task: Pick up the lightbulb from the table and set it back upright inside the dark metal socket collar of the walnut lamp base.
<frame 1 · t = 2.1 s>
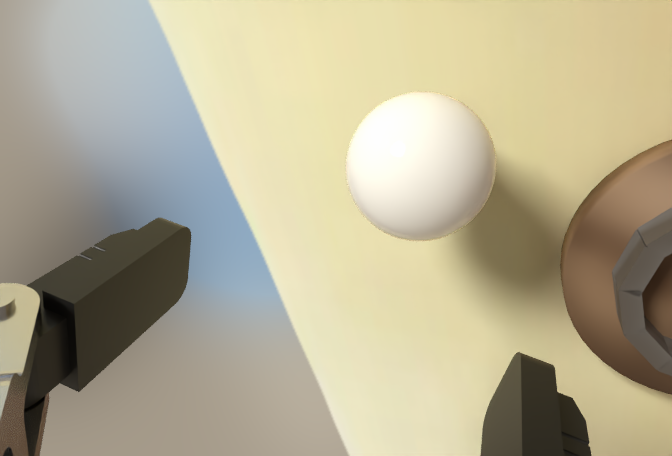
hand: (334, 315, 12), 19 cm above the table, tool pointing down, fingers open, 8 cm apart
lightbulb: (442, 124, 28), on the table
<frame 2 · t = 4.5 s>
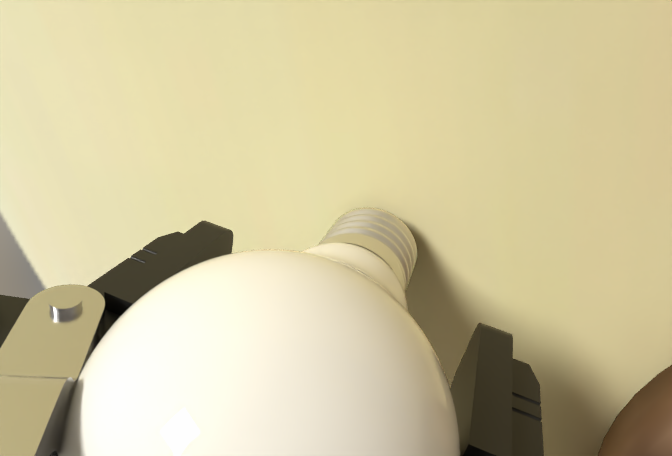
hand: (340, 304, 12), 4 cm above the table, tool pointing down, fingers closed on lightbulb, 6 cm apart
lightbulb: (378, 237, 15), on the table, touching gripper
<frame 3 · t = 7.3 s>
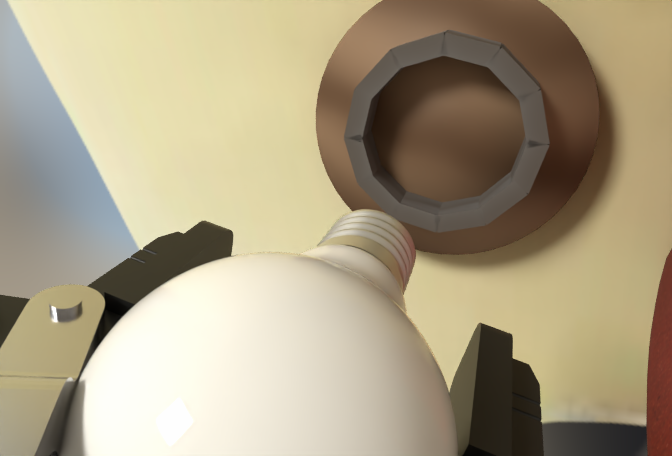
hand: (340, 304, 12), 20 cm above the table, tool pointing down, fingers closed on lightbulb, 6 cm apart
lightbulb: (377, 238, 15), point 16 cm above the table, touching gripper
lamp base: (449, 123, 29), on the table
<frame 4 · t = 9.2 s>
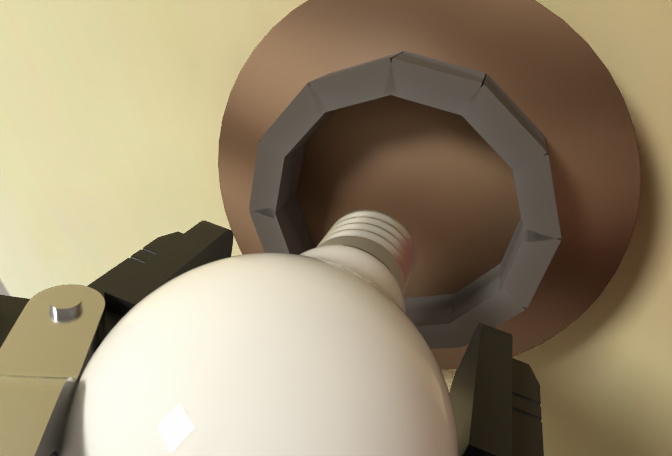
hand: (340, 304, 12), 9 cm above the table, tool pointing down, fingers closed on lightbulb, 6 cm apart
lightbulb: (377, 239, 15), point 5 cm above the table, touching gripper
lamp base: (412, 183, 20), on the table
when the fingers open (7 cm above the table, at t = 10.6 s): lightbulb drops 1 cm, resting on lamp base.
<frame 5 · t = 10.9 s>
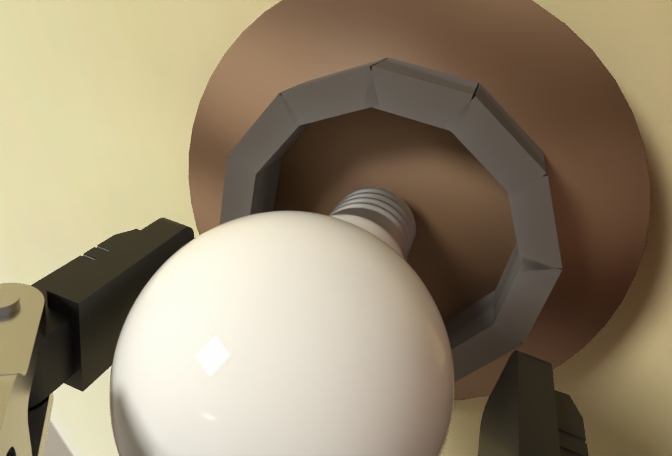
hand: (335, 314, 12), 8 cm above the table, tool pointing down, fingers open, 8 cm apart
lightbulb: (380, 215, 17), point 2 cm above the table, touching lamp base
lamp base: (399, 200, 18), on the table
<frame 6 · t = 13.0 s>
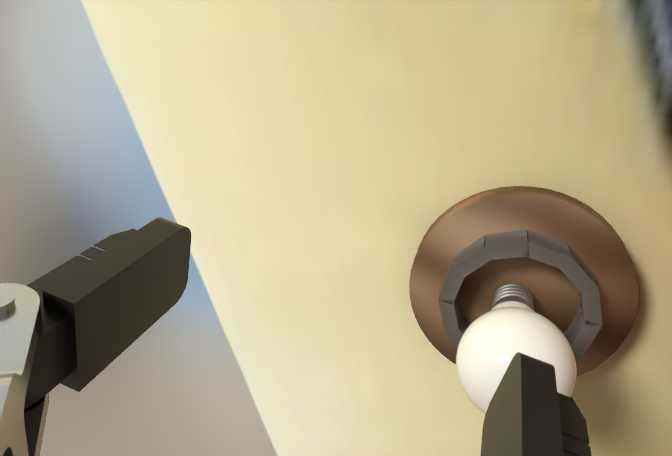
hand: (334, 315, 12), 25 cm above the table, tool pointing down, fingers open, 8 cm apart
lightbulb: (511, 294, 35), point 2 cm above the table, touching lamp base
lamp base: (515, 283, 37), on the table
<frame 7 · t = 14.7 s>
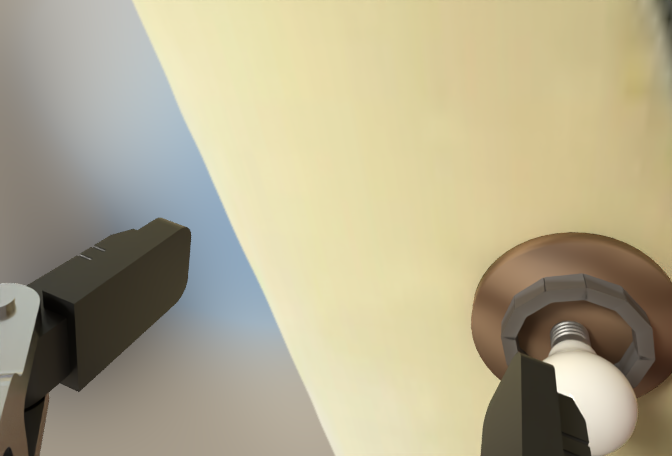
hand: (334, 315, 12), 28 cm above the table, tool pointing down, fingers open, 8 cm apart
lightbulb: (567, 328, 39), point 2 cm above the table, touching lamp base
lamp base: (569, 317, 40), on the table
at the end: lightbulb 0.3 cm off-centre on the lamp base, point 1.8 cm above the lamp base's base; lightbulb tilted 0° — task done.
